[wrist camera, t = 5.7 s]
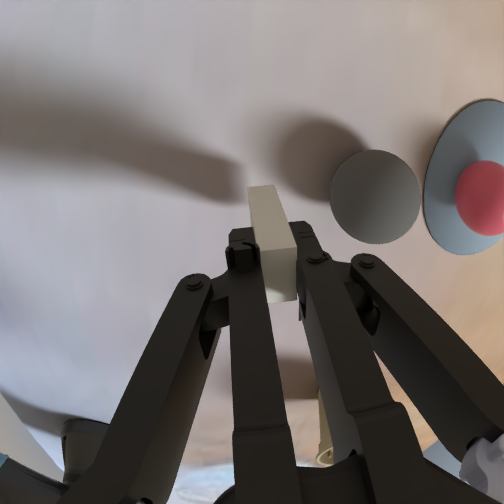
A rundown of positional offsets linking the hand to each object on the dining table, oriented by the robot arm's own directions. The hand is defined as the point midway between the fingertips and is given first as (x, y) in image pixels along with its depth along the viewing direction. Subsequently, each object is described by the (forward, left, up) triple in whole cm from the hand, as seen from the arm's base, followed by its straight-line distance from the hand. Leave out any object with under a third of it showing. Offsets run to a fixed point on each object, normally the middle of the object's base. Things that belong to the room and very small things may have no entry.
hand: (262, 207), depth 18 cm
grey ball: (+7, 0, +1) cm, 7 cm away
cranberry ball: (+16, 0, +1) cm, 16 cm away
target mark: (+19, 0, -2) cm, 19 cm away
